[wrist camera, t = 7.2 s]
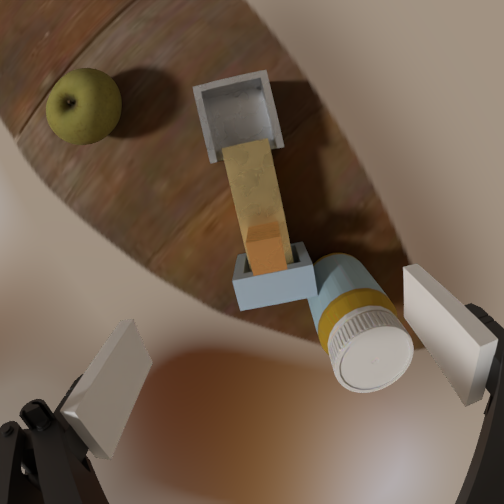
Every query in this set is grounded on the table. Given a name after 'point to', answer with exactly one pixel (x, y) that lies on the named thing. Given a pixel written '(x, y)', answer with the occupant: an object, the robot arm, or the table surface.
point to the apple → (84, 106)
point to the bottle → (358, 325)
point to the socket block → (275, 281)
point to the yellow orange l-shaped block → (258, 206)
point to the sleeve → (237, 112)
